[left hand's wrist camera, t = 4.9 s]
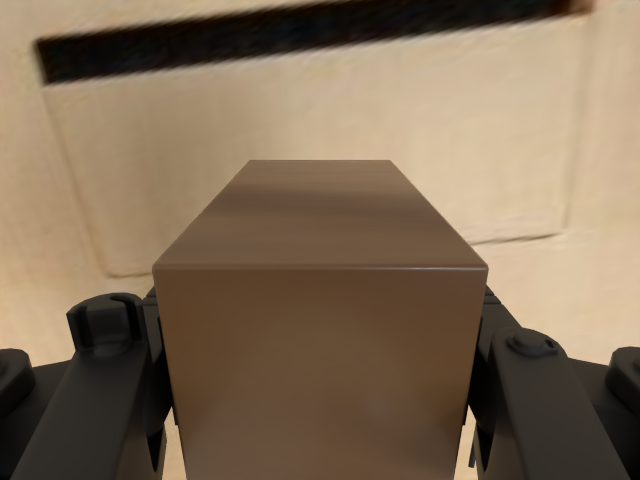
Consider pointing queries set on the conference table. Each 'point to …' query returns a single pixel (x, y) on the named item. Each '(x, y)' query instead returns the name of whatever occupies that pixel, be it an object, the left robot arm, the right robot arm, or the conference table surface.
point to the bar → (320, 327)
